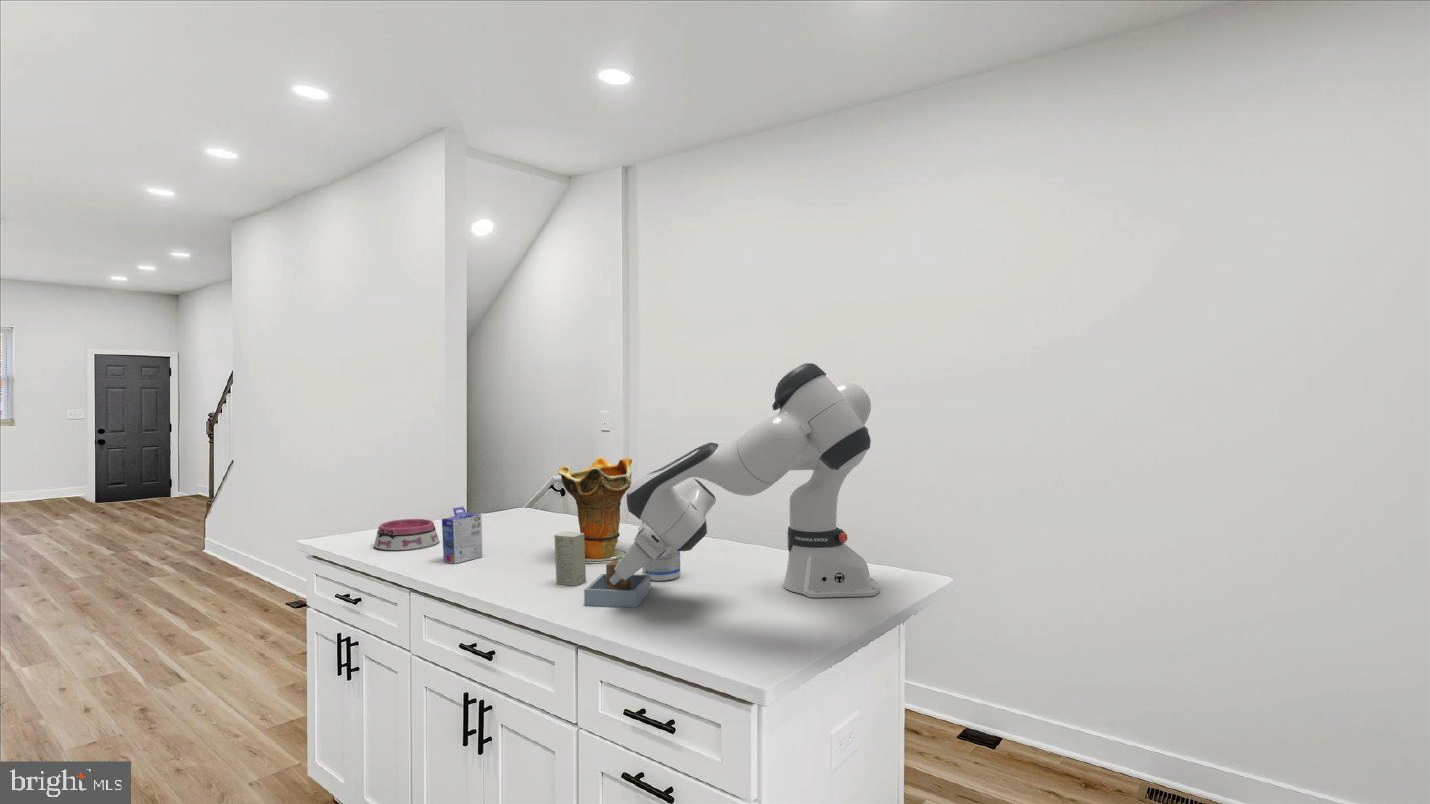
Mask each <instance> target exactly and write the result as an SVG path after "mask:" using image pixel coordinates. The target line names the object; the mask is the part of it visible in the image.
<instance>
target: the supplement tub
mask: <svg viewBox="0 0 1430 804" xmlns="http://www.w3.org/2000/svg"><path fill="white" fill-rule="evenodd" d="M643 523H644V522H643V521H642V520H641V525H642V524H643ZM641 569H642V575H650V581H653V582H654V581H655V582H661V581H662V582H663V581H671V580H675V579H677V578H679V576H680V575H681V551H676V550H675V549H672V550H671V551H670V552H669V553H668V554H667V555H666V556H661V557H658V558H657V559H655V560H653V559H652V560H651V561H650V562H648V563H647V564H646V565H644V566H643V567H642V568H641Z"/></svg>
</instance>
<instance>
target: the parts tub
mask: <svg viewBox="0 0 1430 804" xmlns="http://www.w3.org/2000/svg"><path fill="white" fill-rule="evenodd" d="M650 589H652V588H651V580H650V575H643V574H633V575H632V576H631V577H630V590H607V589H606V573H601V574H600V575H599V576H598V577H596V578H595V580H593V581H592V582H591V583H590V584H589V585H588V586H587V587H586V588H584V591H583V592H584V593H583V595H584V597H583V601H584V602H583V603H584V606H585V607H586V606H587V607H611V608H612V607H613V608H614V607H615V608H616V607H617V608H638V606H639V605H640V604H641V602H642V601H643V600H644V599H645V598H646V597H647V595H648V594H649V592H650V591H651V590H650Z"/></svg>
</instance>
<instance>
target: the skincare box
mask: <svg viewBox="0 0 1430 804" xmlns="http://www.w3.org/2000/svg"><path fill="white" fill-rule="evenodd" d="M553 537H554V555H555V556H554V557H555V558H554V559H555V581H556V584H557V585H564V586H565V585H566V586H575V587H577V586H580V585H581V584H584V583H585V582H586V581H587V574H586V572H587V571H586V562H585V543H584V533H580V532H573V531H572V532H571V531H562V532H559V533H556V534H554V535H553Z"/></svg>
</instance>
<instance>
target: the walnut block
mask: <svg viewBox="0 0 1430 804" xmlns="http://www.w3.org/2000/svg"><path fill="white" fill-rule="evenodd" d="M619 561H620V560H611V561H610V562H607V564H605V574H606V589H607V590H630V577H629V578H628V579H626V580H623V579H621V580H619V581H618V582H617V583H616V584H615V585H613V584H612V583H611V582H610V581H609V579H610V578H611V577H612V576H613V575H614V574H615V572H616V571H615V570H614V568H615V566H616V565H617V563H618V562H619Z"/></svg>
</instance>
